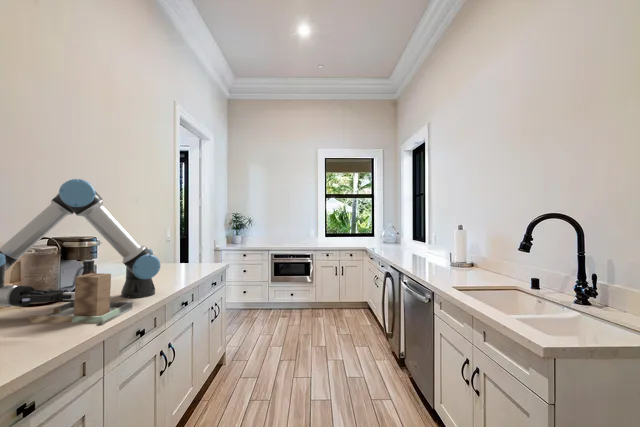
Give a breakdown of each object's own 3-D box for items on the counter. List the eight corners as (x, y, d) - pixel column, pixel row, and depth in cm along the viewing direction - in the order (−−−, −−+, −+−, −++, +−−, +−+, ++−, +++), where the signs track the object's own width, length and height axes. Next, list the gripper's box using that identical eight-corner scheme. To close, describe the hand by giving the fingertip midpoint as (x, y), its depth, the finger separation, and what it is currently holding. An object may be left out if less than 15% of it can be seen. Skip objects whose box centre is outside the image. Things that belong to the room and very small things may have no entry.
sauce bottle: (86, 302, 144) (88, 259, 145) (99, 303, 144) (101, 259, 144) (75, 306, 138) (76, 260, 138) (88, 306, 137) (90, 261, 138)
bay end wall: (100, 324, 115) (100, 316, 115) (116, 316, 125) (116, 308, 125) (103, 324, 115) (103, 316, 115) (119, 316, 125) (119, 308, 125)
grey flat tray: (29, 325, 113) (29, 316, 113) (71, 308, 134) (71, 301, 134) (101, 325, 114) (102, 316, 114) (132, 309, 135) (132, 302, 135)
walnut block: (73, 320, 116) (75, 277, 116) (88, 314, 124) (90, 273, 124) (96, 320, 116) (98, 277, 117) (109, 314, 124) (111, 273, 125)
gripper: (31, 301, 125) (92, 301, 127) (-1, 310, 112) (69, 310, 114) (32, 282, 125) (93, 283, 127) (0, 289, 112) (69, 290, 114)
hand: (81, 296), depth 120 cm, fingers closed
